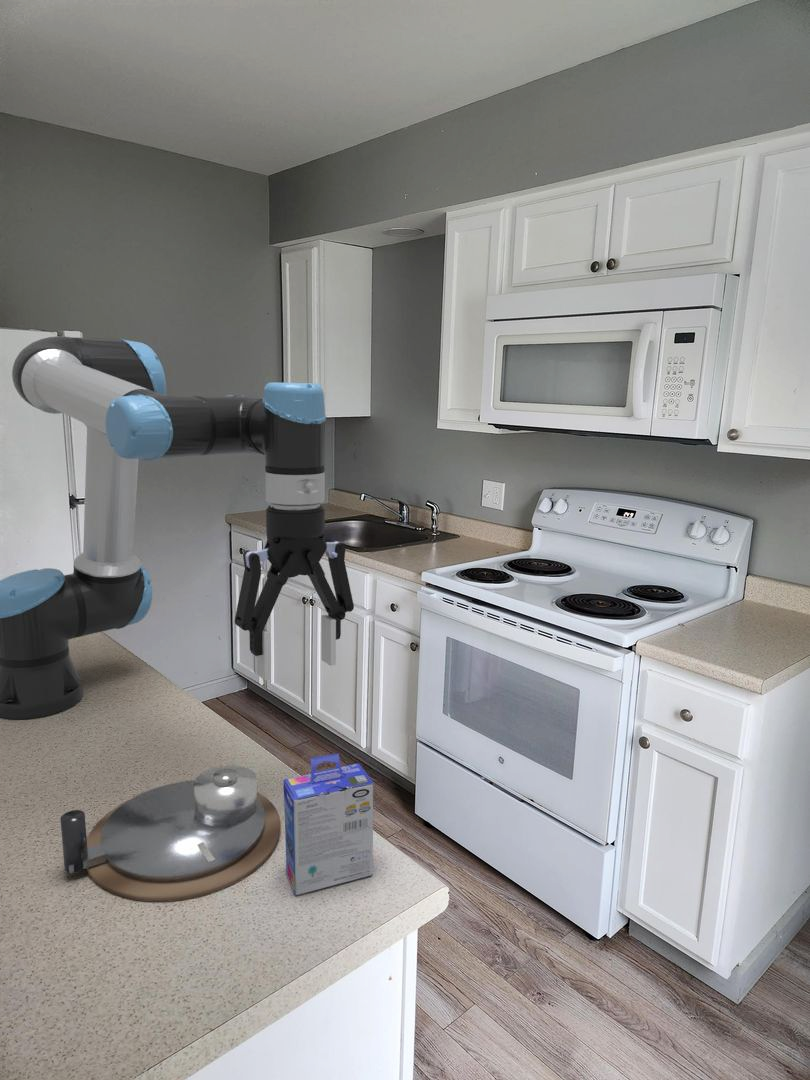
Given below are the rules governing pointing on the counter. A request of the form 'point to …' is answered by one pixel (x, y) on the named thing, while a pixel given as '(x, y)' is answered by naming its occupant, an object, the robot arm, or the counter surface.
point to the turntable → (160, 838)
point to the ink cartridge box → (328, 826)
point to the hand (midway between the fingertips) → (296, 669)
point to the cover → (225, 795)
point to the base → (186, 888)
